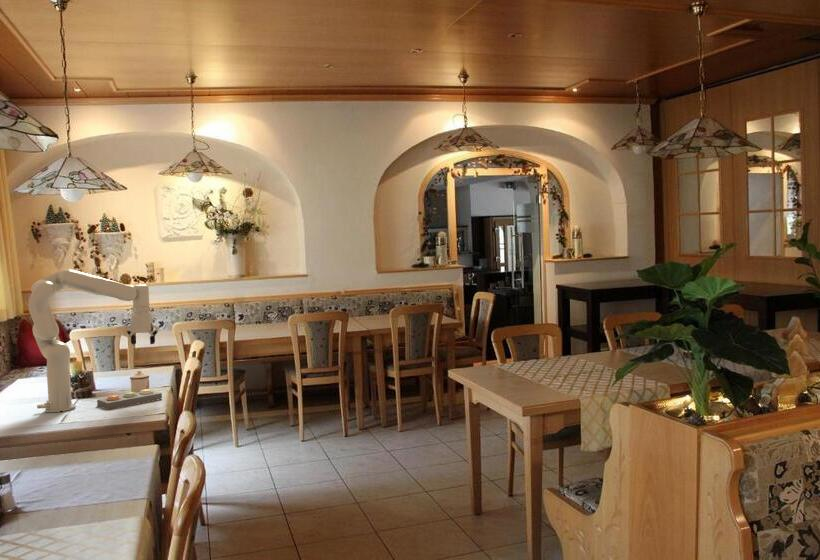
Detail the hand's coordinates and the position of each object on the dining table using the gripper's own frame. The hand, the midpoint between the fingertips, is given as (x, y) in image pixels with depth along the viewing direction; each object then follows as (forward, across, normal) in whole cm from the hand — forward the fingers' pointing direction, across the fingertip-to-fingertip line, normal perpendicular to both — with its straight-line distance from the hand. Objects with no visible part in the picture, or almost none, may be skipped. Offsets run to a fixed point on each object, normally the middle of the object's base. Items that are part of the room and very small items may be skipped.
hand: (143, 344), depth 345 cm
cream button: (+24, +4, -8) cm, 26 cm away
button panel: (+26, 0, -14) cm, 30 cm away
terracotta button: (+24, -5, -21) cm, 33 cm away
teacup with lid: (+26, -6, +6) cm, 28 cm away
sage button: (+25, 0, -14) cm, 28 cm away
